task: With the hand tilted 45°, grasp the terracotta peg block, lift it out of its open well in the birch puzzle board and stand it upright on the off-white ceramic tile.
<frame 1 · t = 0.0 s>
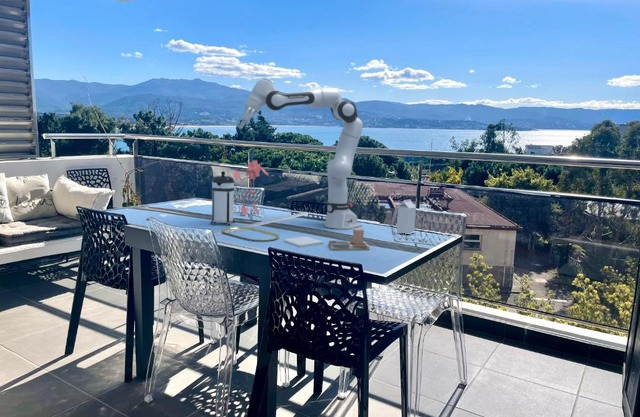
hand: (240, 128, 267), 54 cm above the table, tool tilted 30°, fingers open, 8 cm apart
coffee press: (222, 223, 284), on the table
off-white ceramic tile: (303, 242, 242), on the table
serving platter: (250, 236, 255), on the table
birch puzzle board: (348, 247, 235), on the table
milk carton: (405, 233, 274), on the table
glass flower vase: (253, 215, 313), on the table
terracotta peg block: (357, 247, 236), resting in birch puzzle board
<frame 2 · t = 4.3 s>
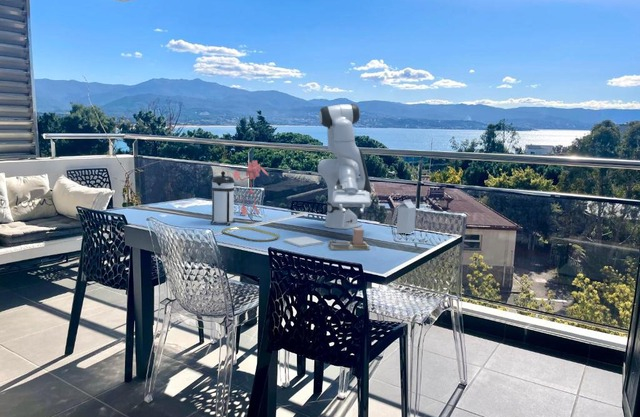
hand: (352, 212, 245), 15 cm above the table, tool tilted 45°, fingers open, 8 cm apart
nothing on the table moved.
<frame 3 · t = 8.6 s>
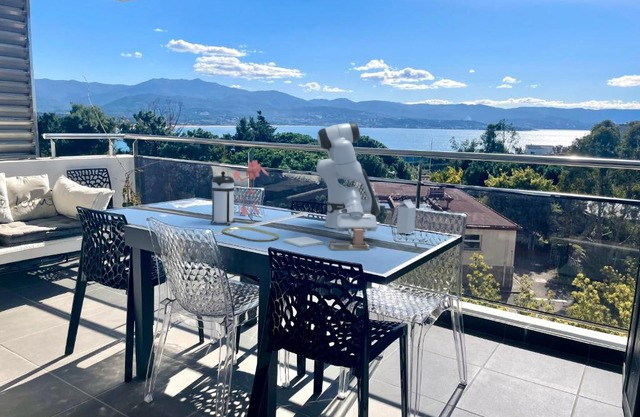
hand: (358, 237, 234), 5 cm above the table, tool tilted 45°, fingers closed on terracotta peg block, 4 cm apart
terracotta peg block: (357, 247, 236), resting in birch puzzle board, touching gripper
everything else where it was.
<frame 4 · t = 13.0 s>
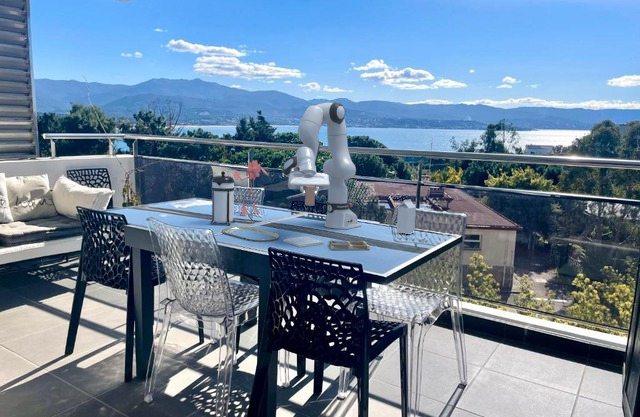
hand: (310, 194, 236), 24 cm above the table, tool tilted 45°, fingers closed on terracotta peg block, 4 cm apart
terracotta peg block: (309, 205, 237), point 19 cm above the table, touching gripper
everything else where it was.
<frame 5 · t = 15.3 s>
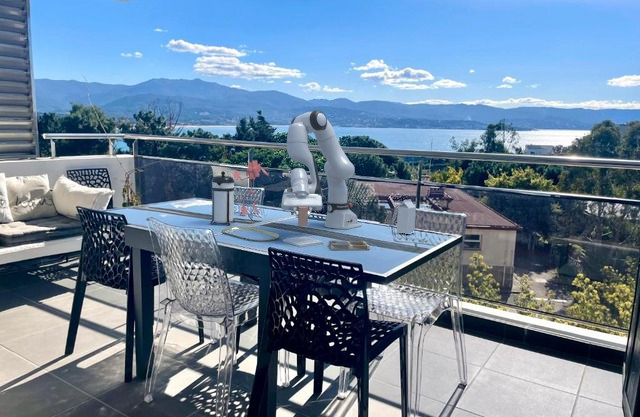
hand: (303, 215, 238), 14 cm above the table, tool tilted 50°, fingers closed on terracotta peg block, 4 cm apart
terracotta peg block: (302, 225, 239), point 9 cm above the table, touching gripper
everything else where it was.
when the fingers open (7 cm above the table, at t = 17.2 s): terracotta peg block drops 1 cm, resting on off-white ceramic tile.
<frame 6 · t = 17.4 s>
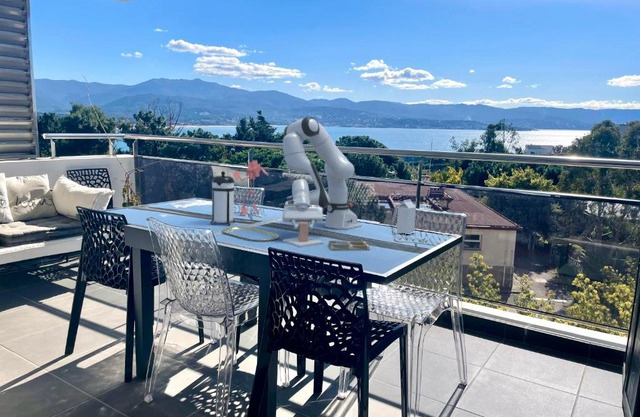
hand: (303, 228, 240), 7 cm above the table, tool tilted 45°, fingers open, 6 cm apart
terracotta peg block: (303, 240, 242), point 1 cm above the table, touching off-white ceramic tile
everything else where it was.
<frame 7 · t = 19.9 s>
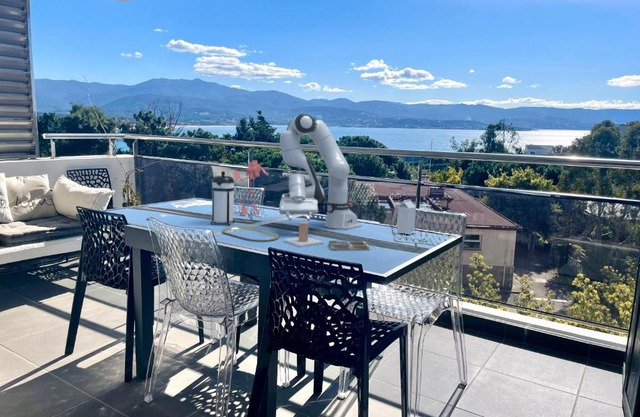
hand: (299, 219, 252), 9 cm above the table, tool tilted 45°, fingers open, 8 cm apart
nothing on the table moved.
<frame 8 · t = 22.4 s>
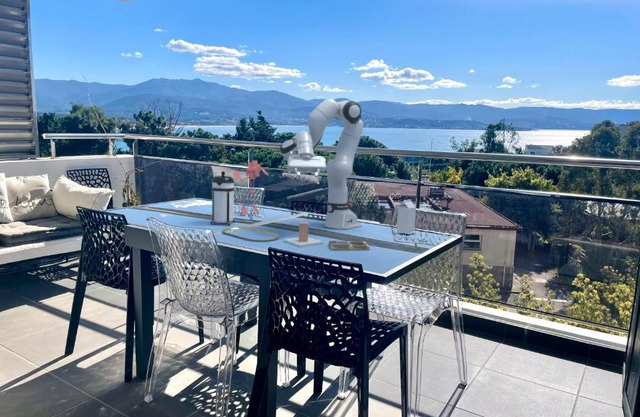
hand: (307, 176, 251), 31 cm above the table, tool tilted 45°, fingers open, 8 cm apart
nothing on the table moved.
at the end: terracotta peg block inside the target area on the off-white ceramic tile (0.2 cm from its centre), point 1.0 cm above the off-white ceramic tile's base; terracotta peg block tilted 0°; the gripper is holding nothing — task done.
